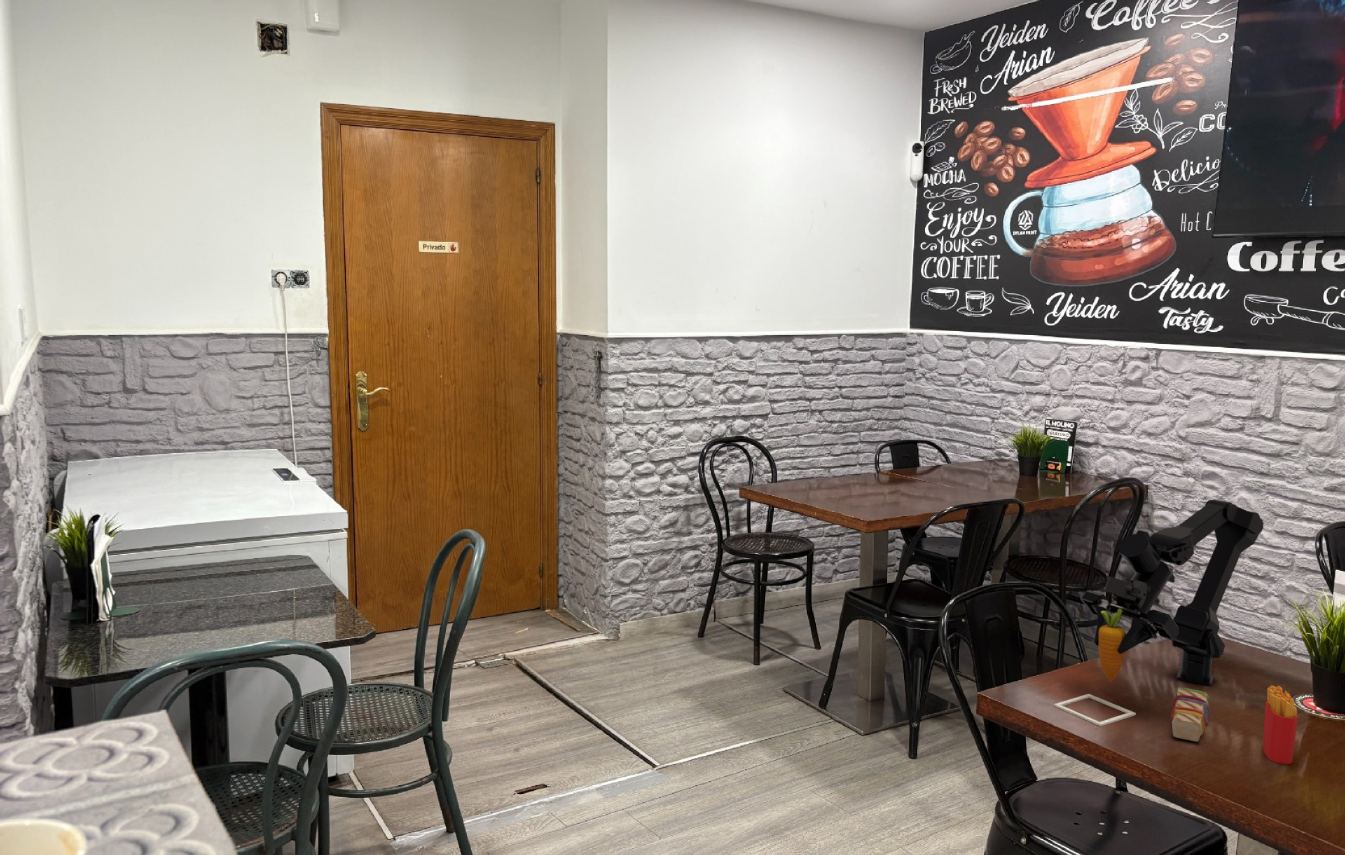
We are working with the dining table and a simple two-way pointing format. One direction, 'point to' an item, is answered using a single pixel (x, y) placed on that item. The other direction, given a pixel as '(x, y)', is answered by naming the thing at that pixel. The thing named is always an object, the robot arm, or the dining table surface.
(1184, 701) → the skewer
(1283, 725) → the french fries
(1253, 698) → the dining table surface
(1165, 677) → the dining table surface
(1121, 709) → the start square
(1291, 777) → the dining table surface
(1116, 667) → the carrot
